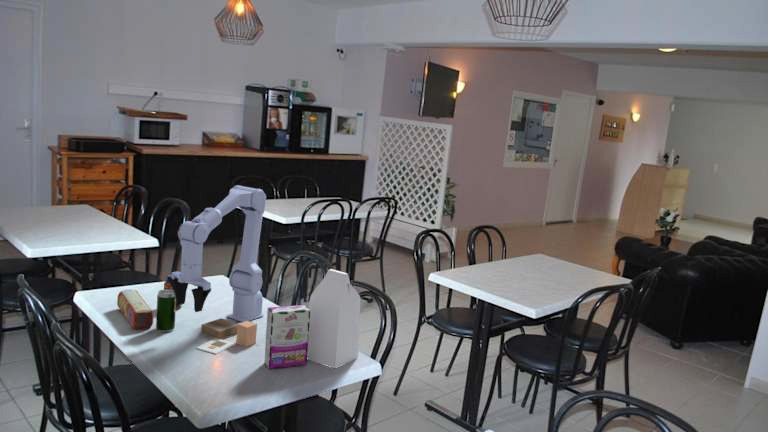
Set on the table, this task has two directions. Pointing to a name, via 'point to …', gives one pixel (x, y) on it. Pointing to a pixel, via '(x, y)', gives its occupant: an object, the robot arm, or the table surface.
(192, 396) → the table surface
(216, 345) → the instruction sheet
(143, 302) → the snack package
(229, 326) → the walnut slab
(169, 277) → the supplement bottle
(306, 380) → the table surface
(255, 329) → the terracotta block
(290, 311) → the candy bar box
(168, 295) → the beer can
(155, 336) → the table surface
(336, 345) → the milk
